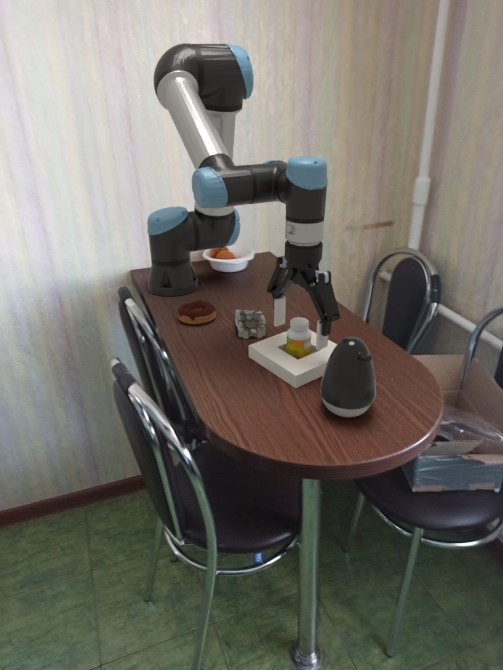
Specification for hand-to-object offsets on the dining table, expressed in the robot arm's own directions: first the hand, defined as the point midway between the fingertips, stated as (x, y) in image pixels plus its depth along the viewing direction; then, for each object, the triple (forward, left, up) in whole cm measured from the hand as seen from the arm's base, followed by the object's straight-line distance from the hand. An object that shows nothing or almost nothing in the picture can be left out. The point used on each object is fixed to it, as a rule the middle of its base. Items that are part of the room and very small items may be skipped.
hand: (299, 335), depth 104 cm
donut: (-33, -7, -7) cm, 34 cm away
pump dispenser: (+19, -5, -6) cm, 21 cm away
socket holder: (0, 0, -6) cm, 6 cm away
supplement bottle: (0, 0, -6) cm, 6 cm away
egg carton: (-19, +1, -7) cm, 20 cm away
